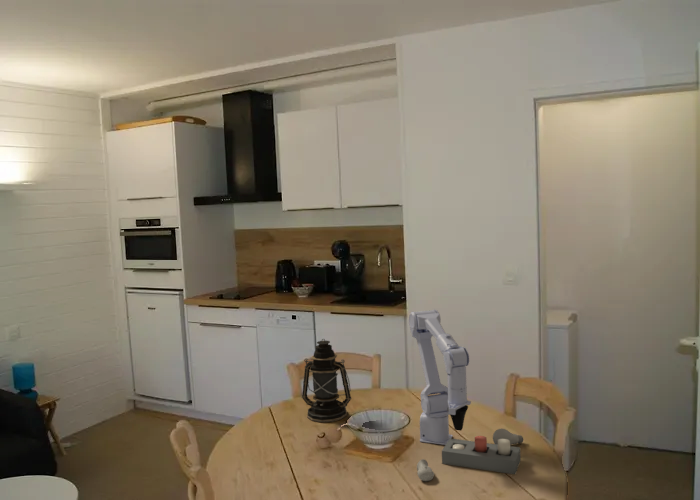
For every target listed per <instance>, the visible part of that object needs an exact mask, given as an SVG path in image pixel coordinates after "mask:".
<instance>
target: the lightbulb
mask: <svg viewBox="0 0 700 500" xmlns="http://www.w3.org/2000/svg"><path fill="white" fill-rule="evenodd" d="M499 439H508V440H509V441H510V446H512V445H518V444H523V442H524V437H523V435H521V434H517V433H513V432H511V431H509V430H508V429H506V428H498V429H496V430H495V431H494V432H493V435H492V442H493V444H497V445H498V440H499Z"/></svg>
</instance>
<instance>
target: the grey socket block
mask: <svg viewBox="0 0 700 500" xmlns="http://www.w3.org/2000/svg"><path fill="white" fill-rule="evenodd" d="M455 444H461V445H464V450H460V449H453V445H455ZM521 460H522V459H521V447H519V446H512V445H510V455H507V456H504V455H500V454H498V445H497V444H495V443H488V442H487V451H486V452H477V451H475V440H466V439H457V438H450V439H449V441H448V442H447V444H446V445H444V446H443V448H442V450H441V464H444V465H449V466H457V467H462V468H463V467H464V468H468V469H469V468H470V469H478V470H483V471H488V472H489V471H490V472H495V473H496V472H498V473H503V474H509V475H516V474H517V471H518V468H519V466H520V463H521Z"/></svg>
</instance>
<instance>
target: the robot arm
mask: <svg viewBox="0 0 700 500" xmlns="http://www.w3.org/2000/svg"><path fill="white" fill-rule="evenodd" d="M408 315H409V316H408V326H409V330H410V333H411V337H413V338H414V339H416V343H417V348H418V352H419V357H420V361H421V366H422V371H423V375H424V381H425V384H426V386H425V387H424V388H423V389H422V390H421V392H420V395H419V396H420V407H421V410H422V412H421V414H420V417H419V442H420V443H427V444H435V445H436V444H437V445H442V446H445V445H446V444H447V442H448V441H449V439H450V438H451V439H453V436H454V435H453V434H450V427H449V426H450V425H449V423H450V422H449V419H450V418H451V421H452V425H453V428H454V430H455V431H462V430H463V427H464V423H465V417H466V413H467V411H468V408H469V406H470V405H471V404H472V401H471V400H468V396H467V395H468V393H467V387H468V386H467V366H469V364H470V355H469V352H468V350H467V348H466V347H465V346H462V345H459V344H458V343H457V342H456V340H455V339H454V337H453V336H452V335H451V334H450V333H446V331H445V330H444V328H443V326H442V324H441V314H440V312H439V311H438V310H437V309H435V308H434V309H431V310H420V311H411V312H409V314H408ZM432 337H434V338H435V346H436V347H437V349H438V350H439V351H440V353H441V354H442V356H443V357H442V359H443V364H444V367H445V368H444V369H445V373H447V385H444V384H442V382H441V378H440V375H439V370H438V365H437V361H436V356H435V351H434V346H433V342H432ZM449 416H450V418H449Z"/></svg>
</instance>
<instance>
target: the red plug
mask: <svg viewBox="0 0 700 500" xmlns="http://www.w3.org/2000/svg"><path fill="white" fill-rule="evenodd" d="M474 442H475V451H477V452H486V451H487V443H488V440H487V437H486V436H483V435H476V436H475V437H474Z"/></svg>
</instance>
